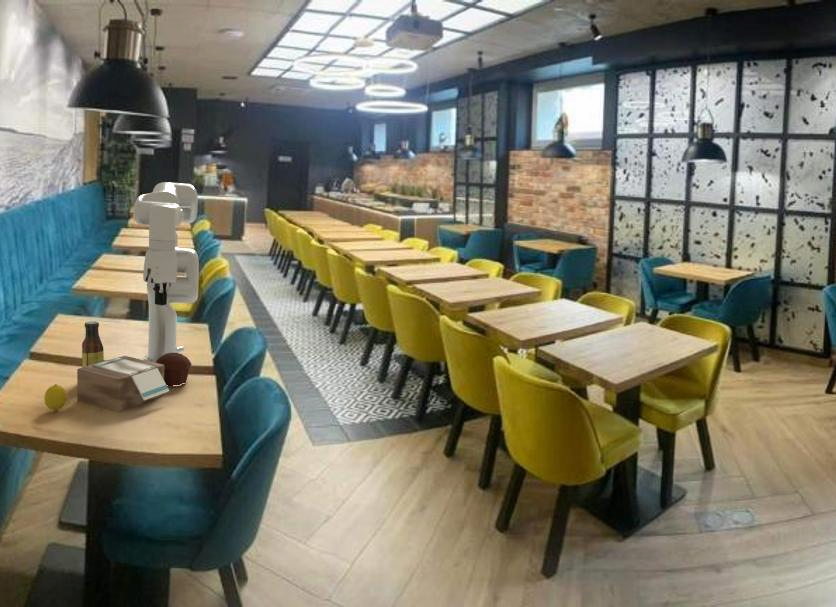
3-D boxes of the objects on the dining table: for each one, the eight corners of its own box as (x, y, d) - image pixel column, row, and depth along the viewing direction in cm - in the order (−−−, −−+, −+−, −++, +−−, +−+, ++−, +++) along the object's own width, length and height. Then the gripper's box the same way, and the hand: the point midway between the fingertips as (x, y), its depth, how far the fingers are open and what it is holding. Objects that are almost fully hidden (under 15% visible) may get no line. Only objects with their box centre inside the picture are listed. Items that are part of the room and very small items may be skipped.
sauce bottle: (108, 380, 209) (108, 321, 206) (96, 385, 203) (97, 325, 199) (89, 377, 210) (89, 319, 206) (77, 383, 204) (77, 323, 200)
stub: (156, 368, 195) (157, 367, 195) (168, 391, 195) (169, 390, 194) (131, 376, 186) (132, 375, 186) (143, 400, 185) (145, 399, 185)
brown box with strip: (124, 385, 206) (124, 353, 204) (163, 395, 201) (164, 363, 199) (77, 400, 189) (77, 366, 187) (118, 412, 184) (119, 377, 182)
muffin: (146, 383, 210) (147, 354, 208) (171, 375, 220) (171, 347, 218) (174, 390, 206) (175, 361, 204) (198, 382, 216) (199, 354, 214)
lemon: (50, 407, 183) (50, 380, 181) (70, 408, 183) (70, 382, 182) (40, 414, 177) (40, 386, 176) (61, 415, 178) (61, 388, 176)
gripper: (169, 242, 201) (168, 299, 204) (133, 245, 187) (132, 306, 190) (188, 245, 198) (187, 303, 202) (153, 248, 185) (152, 310, 188)
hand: (160, 304), depth 196 cm, fingers closed
